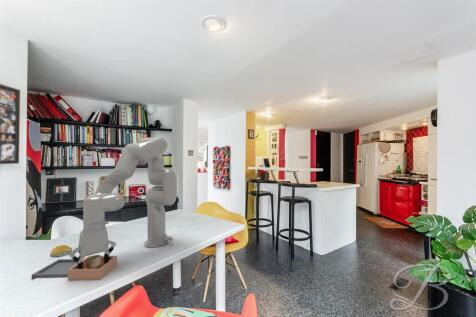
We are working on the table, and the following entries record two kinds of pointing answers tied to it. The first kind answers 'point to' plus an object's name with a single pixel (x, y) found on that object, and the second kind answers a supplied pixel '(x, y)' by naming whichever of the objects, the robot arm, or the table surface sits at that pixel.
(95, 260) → the beech cylinder
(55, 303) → the table surface
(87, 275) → the salmon square tray
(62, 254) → the bread roll
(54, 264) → the charcoal tray
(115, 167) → the robot arm
